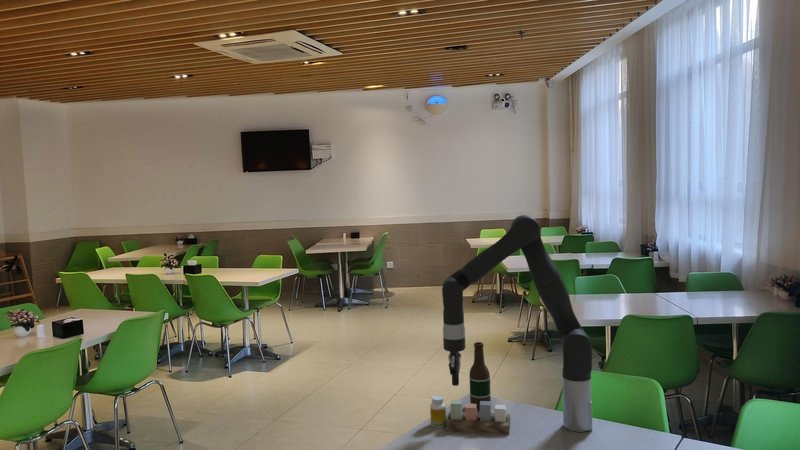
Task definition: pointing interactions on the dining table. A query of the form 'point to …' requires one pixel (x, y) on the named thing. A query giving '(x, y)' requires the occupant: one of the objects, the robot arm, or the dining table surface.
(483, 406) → the key slate
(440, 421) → the supplement bottle
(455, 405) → the key sage
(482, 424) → the brown wooden slotted tray
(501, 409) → the key ivory
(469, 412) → the salmon pink block
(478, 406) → the beer bottle
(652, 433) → the dining table surface
